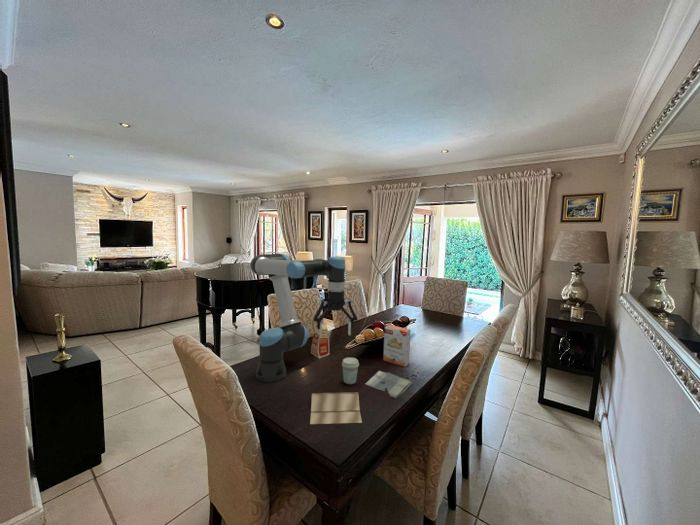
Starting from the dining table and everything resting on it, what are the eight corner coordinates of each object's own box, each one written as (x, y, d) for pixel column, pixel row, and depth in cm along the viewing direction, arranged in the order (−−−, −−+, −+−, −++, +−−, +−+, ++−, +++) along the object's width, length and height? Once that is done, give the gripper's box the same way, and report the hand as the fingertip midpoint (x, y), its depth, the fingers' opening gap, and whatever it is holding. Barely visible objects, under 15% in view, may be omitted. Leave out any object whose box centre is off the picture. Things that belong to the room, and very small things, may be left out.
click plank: (311, 413, 119) (311, 411, 118) (311, 394, 124) (311, 393, 123) (359, 411, 120) (359, 410, 119) (357, 393, 126) (358, 392, 125)
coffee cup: (345, 389, 138) (345, 365, 136) (338, 381, 145) (339, 358, 144) (361, 386, 141) (362, 362, 140) (354, 378, 149) (354, 355, 148)
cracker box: (382, 361, 170) (384, 326, 168) (387, 357, 175) (389, 324, 173) (404, 367, 162) (406, 331, 160) (409, 364, 167) (410, 329, 165)
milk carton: (318, 358, 171) (319, 325, 169) (310, 353, 178) (310, 321, 176) (330, 354, 177) (331, 322, 175) (322, 349, 184) (322, 319, 182)
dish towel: (396, 401, 130) (396, 394, 130) (362, 388, 140) (363, 382, 140) (412, 384, 145) (413, 378, 145) (381, 373, 156) (381, 368, 155)
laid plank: (309, 427, 110) (310, 423, 110) (310, 415, 118) (310, 411, 117) (361, 426, 112) (362, 422, 112) (359, 414, 119) (359, 410, 119)
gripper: (309, 292, 127) (308, 339, 129) (364, 291, 132) (362, 336, 134) (308, 288, 134) (307, 333, 136) (360, 288, 139) (359, 331, 141)
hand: (335, 335), depth 135 cm, fingers open, 13 cm apart
